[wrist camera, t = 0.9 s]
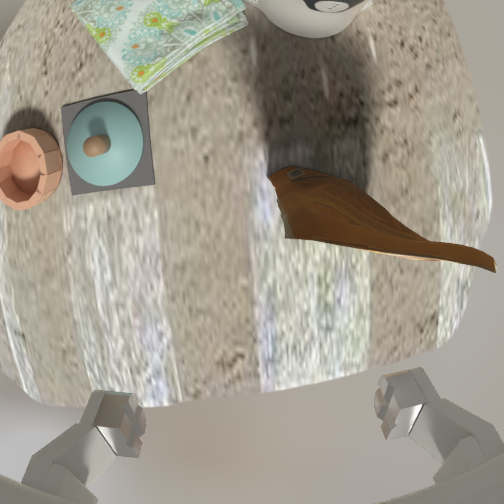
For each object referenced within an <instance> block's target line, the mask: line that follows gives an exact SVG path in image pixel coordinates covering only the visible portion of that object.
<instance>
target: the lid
mask: <svg viewBox="0 0 504 504" xmlns="http://www.w3.org/2000/svg"><path fill="white" fill-rule="evenodd" d="M143 149H144V134H143V130H142V126H141V124H140V122H139V120H138V118H137V117H136V115H135V114H134V113H133V112H132V111H131V110H130V109H129V108H127V107H126V106H124V105H122V104H119V103H116V102H99V103H95V104H93V105H90V106H89V107H87V108H85V109H84V110H83V111H82V112H81V113H80V114H79V115H78V116H77V117H76V119H75V120H74V122H73V123H72V125H71V128H70V130H69V133H68V138H67V153H68V158H69V161H70V163H71V165H72V167H73V169H74V171H75V172H76V173H77V174H78V175H79V176H80V177H81V178H82V179H83V180H85V181H86V182H88V183H91V184H93V185H97V186H109V185H113V184H116V183H118V182H120V181H122V180H124V179H125V178H127V177H128V176H129V175H130V174H131V173H132V172H133V171H134V170H135V169H136V167H137V165H138V164H139V162H140V160H141V157H142V154H143Z"/></svg>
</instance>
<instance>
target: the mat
mask: <svg viewBox="0 0 504 504" xmlns="http://www.w3.org/2000/svg"><path fill="white" fill-rule="evenodd" d="M99 102H116V103H119V104H122V105H124V106H126V107H127V108H129V109H130V110H131V111H132V112H133V113H134V114H135V115H136V117H137V118H138V120H139V122H140V124H141V126H142V130H143V134H144V149H143V154H142V157H141V160H140V162H139V164H138V165H137V167H136V169H135V170H134V171H133V172H132V173H131V174H130V175H129V176H128V177H127V178H125V179H124V180H122V181H120V182H118V183H116V184H113V185H109V186H97V185H93V184H91V183H88V182H86V181H85V180H83V179H82V178H81V177H80V176H79V175H78V174H77V173H76V172H75V171H74V169H73V167H72V165H71V163H70V161H69V158H68V153H67V138H68V133H69V130H70V128H71V125H72V123H73V122H74V120H75V119H76V117H77V116H78V115H79V114H80V113H81V112H82V111H83V110H84V109H85V108H87V107H89V106H90V105H93V104H95V103H99ZM61 113H62V124H63V135H64V144H65V152H66V160H67V167H68V173H69V180H70V186H71V192H72V195H78V194H85V193H91V192H98V191H106V190H113V189H121V188H129V187H138V186H147V185H155V178H154V169H153V160H152V151H151V140H150V129H149V117H148V104H147V91H146V92H144V93H142V94H139V93H138V92H137V90H133V91H128V92H123V93H118V94H113V95H109V96H104V97H100V98H96V99H91V100H87V101H83V102H80V103H76V104H72V105H68V106H65V107H61Z"/></svg>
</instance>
